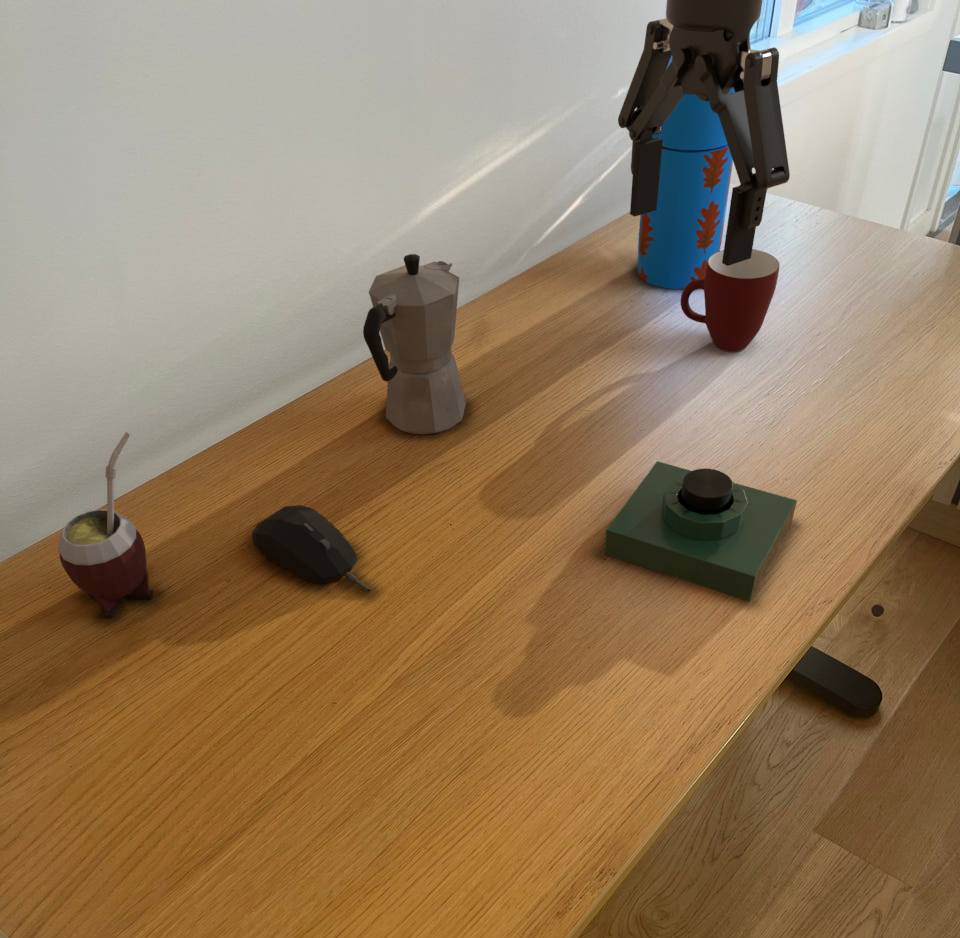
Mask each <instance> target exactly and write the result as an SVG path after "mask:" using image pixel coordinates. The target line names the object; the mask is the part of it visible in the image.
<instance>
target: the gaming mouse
mask: <svg viewBox="0 0 960 938" xmlns="http://www.w3.org/2000/svg"><path fill="white" fill-rule="evenodd" d="M251 539H252V543H253V545H254V547H255V548H256V549H257V550H258V553H260V554H261V555H262V556H263V557H265V558H266V559H268V560H269V561H272V562H273V563H275V564H277V565H278V566H280V567H283V568H284V569H285V570H288V571H289V572H291V573H292V574H294V575H296V576H297V577H299V578H302V579H304V580H306V581H308V582H309V583H310V582H311V583H319V584H327V583H330V582H334V581H336V580H340V579H342V578H343V577H344V578H346V579H347V580H348V581H349V582H351V584H352V585H353V584H354V585H355V584H356V586H358V587H360V588H361V589H363V591H365V592H366V593H370V591H371V588H370V587H368V586H367V585H365V584H364V583H363V582H361V581H360V580H359V578H358V577H357V576H355V575H354V574H352V573H351V572H352V570H353V568H354V566H355V565H356V563H357V561H358V557H357V554H356V551H355V549H354V548H353V546H352V544H350V542H349V541H348V540H347V539H346V538H345V537H344V534H343V533H342V532H341V531H340V530H339V529H338V528H337V527H336V526H335V525H334V524H333V523H332V522H331V521H329V519H327V518H326V517H325V516H324V515H322V514H321V513H320V512H318V511H317V510H316V509H314V508H312V507H310V506H305V505H300V504H298V505H297V504H296V505H286V506H283V507H282V508H280V509H278V510H277V511H275V512H274V513H272V514H270V515H269V516H268V517H266V518H264V519H262V520H261V521H259V522H258V523H256V525H255V527H254V529H253V530H252V533H251Z"/></svg>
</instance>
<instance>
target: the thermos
mask: <svg viewBox="0 0 960 938" xmlns="http://www.w3.org/2000/svg"><path fill="white" fill-rule="evenodd" d="M671 61H672V56H671V59H670V61H669V64H668V66H669V65H670V63H671ZM668 66H667V68H668ZM660 84H661V83H660ZM731 93H735V91H734V87H733V88H732V90H731V91H730V92H729V93H728V94H731ZM661 131H662V133H661V134H657V135H654V136H653V138H657V137H658V138H661V139H663V143H662V154H661V166H660V177H659V188H658V200H657V210H655V211H652V212H648V213H645V214H642V215H639V228H638V240H637V241H638V242H637V272H638V273H637V274H638V276H639V277H640V279H642V280H643V281H644V282H645V283H647V284H650V285H651V286H654V287H658V288H664V289H669V290H684V288H685V287H686V286H687V285H688V284H689V283H690V282H691V281H693V280H696V279H705V274H706V268H707V262H708V259H709V258H710V256H712V255H713V254H715V253H717V252H719V251H721V249H722V242H723V234H724V227H725V222H726V221H725V220H726V213H727V207H728V206H727V205H728V201H729V200H728V198H729V193H730V187H731V186H730V185H731V178H732V171H733V165H734V162H733V159H732V156H731V153H730V150H729V147H728V144H727V141H726V138H725V134H724V131H723V128H722V125H721V122H720V119H719V116H718V114H717V113H715V112H713V111H712V109H711V107H710V104H709V101H707V102H706V101H704V100H701V99H700V98H698V97H697V96H696V95H695V94H692V95H688V94H685V95H684V96H683V98H682V99H681V100H680V102H679V103H678V105H677V106H676V107H675V109H674V110H673V111H672V113H671V114H670V116H669V117H668V118H667V120H666V121H665V123H664V124H663V125H662V127H661V130H659V132H661ZM653 138H652V139H653Z"/></svg>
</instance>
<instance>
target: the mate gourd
mask: <svg viewBox="0 0 960 938" xmlns="http://www.w3.org/2000/svg"><path fill="white" fill-rule="evenodd" d="M130 436H131V435H130V433H128V432H127V431H126V432H125V433H124V434H123V436H122V437H121V438H120V440H119V442H118V443H117V445H116V446H115V448H114V449H113V451H112V453H111V456H110V457H109V460H108V464H107V465H106V466H105V479H106V499H107V500H106V504H107V505H106V506H107V507H106V509H101V508H100V509H93V510H87V511H85V512H83V513H80V514H78V515H76V516H74V517H73V518H72V519H70V520H69V521H68V522H67V523H66V525H65V526H64V527H63V529H62V530H61V532H60V535H59V539H58V553H59V561H60V564H61V567H62V568H63V569H64V571H65V573H66V574H67V576H68V577H69V579H70V580H71V581H72V583H74V585H75V586H77V588H79V589H80V590H81V591H82V592H84V593H86V594H88V596H91V597H93V598H94V599H95V601H96V602H97V603H98V604H99V605H100V606H101V607H102V609H104V610H103V611H102V616H103V618H105V619H113V617H114V616H115V614H116V613H117V611H118V609H119V607H120V606H121V604H122V602H123V601H124V600H126V599H127V600H128V599H131V600H143V601H145V600H146V601H151V600H152V599H153V598H154V596H155V594H154V590H150V588H149V586H150V585H149V584H150V582H149V573H148V569H147V552H146V545H145V541H144V539H143V537H142V534H141V533H140V532H139V531H138V530H137V527H136V526H135V525H134V523H133V522H132V520H130V519H129V518H128V517H126V516H125V515H123V514H121V513H119V512H117V511H115V482H114V481H115V479H116V475H117V474H116V473H117V467H116V464H117V462H118V459H119V456H120V455H121V452H122V451H123V449H124V447H125V445H126V444H127V442H128V439H129V438H130Z"/></svg>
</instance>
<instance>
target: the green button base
mask: <svg viewBox="0 0 960 938" xmlns="http://www.w3.org/2000/svg"><path fill="white" fill-rule="evenodd" d="M691 471H692V470H690V469H686V468H683V467H680V466H675V465H672V464H669V463H666V462H663V461H662V462H661V461H659V460H658V461H656V462H655V463H654V465H653V466H652V467H651V469H650V470H649V472H648V473H647V474H646V475H645V477H644V478H643V479H642V481H641V482H640V484H639V485H638V486H637V487H636V489H635V490H634V491H633V493H632V495H631V496H630V497H629V498H628V500H627V501H626V502H625V504H624V505H623V506H622V508H621V509H620V511H619V512H618V513H617V515H616V516H615V518H614V519H613V520H612V522H610V524H609V525H608V527H607V528H606V530H605V541H604V555H606V556H608V557H612V558H615V559H618V560H621V561H624V562H627V563H630V564H633V565H636V566H639V567H642V568H645V569H648V570H651V571H654V572H657V573H661V574H664V575H667V576H669V577H673V578H675V579H679V580H682V581H685V582H687V583H691V584H694V585H697V586H700V587H702V588H703V587H704V588H706V589H710V590H713V591H716V592H719V593H721V594H724V595H728V596H731V597H733V598H737V599H740V600H743V601H746V602H751V600H752V598H753V596H754V594H755V593H756V591H757V589H758V587H759V585H760V583H761V582H762V580H763V578H764V576H765V574H766V572H767V570H768V569H769V567H770V565H771V563H772V562H773V559H774V557H775V556H776V554H777V552H778V550H779V548H780V546H781V545H782V543H783V541H784V539H785V537H786V535H787V534H788V532H789V530H790V528H791V526H792V523H793V519H794V515H795V511H796V507H797V503H798V500H797V499H794V498H790V497H787V496H783V495H781V494H780V495H779V494H775V493H772V492H769V491H765V490H761V489H757V488H754V487H752V486H747V485H745V484H740V483H737V482H734V481H733V480H732V482H733V488H732V494H731V499H730V504H729V507H728V508H727V510H725V511H724V512H722V513H719V514H705V515H702V514H699V513H696V512H692V511H689V510H687V509H686V508H685V507H684V506H683V505H682V504H681V500H680V499H681V491H682V484H683V479H684V477H685V476H686V474H688V473H689V472H691Z"/></svg>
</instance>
